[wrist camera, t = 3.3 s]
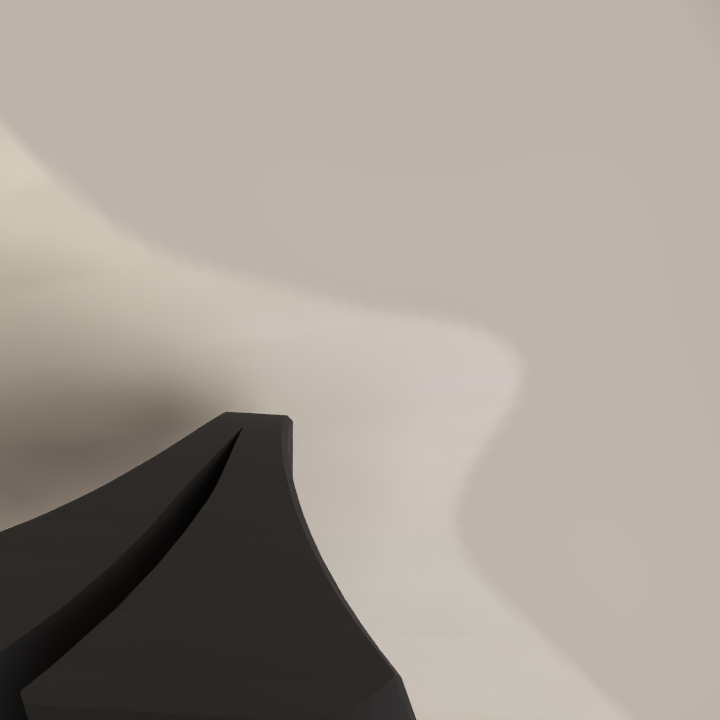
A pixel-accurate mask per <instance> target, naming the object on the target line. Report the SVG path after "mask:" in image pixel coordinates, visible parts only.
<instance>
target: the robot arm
mask: <svg viewBox="0 0 720 720" xmlns="http://www.w3.org/2000/svg"><path fill="white" fill-rule="evenodd" d="M0 720H416V718H415V715H414V712H413V709H412V706H411V704H410V701H409V698H408V695H407V692H406V689H405V687H404V684H403V681H402V678H401V676H400V675H399V674H398V672H397V671H396V670H395V668H394V667H393V666H392V665H391V663H390V662H389V661H388V660H387V658H386V657H385V656H384V654H383V653H382V652H381V651H380V649H379V648H378V646H377V645H376V644H375V642H374V641H373V640H372V638H371V637H370V635H369V634H368V633H367V631H366V630H365V629H364V627H363V626H362V624H361V623H360V621H359V620H358V618H357V617H356V615H355V614H354V612H353V611H352V609H351V607H350V606H349V604H348V603H347V601H346V600H345V598H344V597H343V595H342V593H341V591H340V589H339V588H338V586H337V584H336V582H335V581H334V579H333V577H332V575H331V573H330V572H329V570H328V568H327V566H326V564H325V563H324V561H323V559H322V557H321V555H320V553H319V551H318V549H317V546H316V544H315V542H314V540H313V538H312V535H311V533H310V530H309V528H308V525H307V523H306V520H305V518H304V515H303V512H302V509H301V506H300V503H299V500H298V496H297V493H296V489H295V486H294V482H293V421H292V420H291V419H290V418H289V417H288V416H287V415H271V414H254V413H237V412H225V413H223V414H221V415H219V416H218V417H216V418H214V419H213V420H211V421H210V422H208V423H206V424H205V425H203V426H202V427H200V428H199V429H197V430H196V431H194V432H193V433H191V434H190V435H188V436H186V437H185V438H183V439H182V440H180V441H179V442H177V443H175V444H174V445H172V446H171V447H169V448H168V449H166V450H164V451H163V452H161V453H160V454H158V455H157V456H155V457H153V458H151V459H150V460H148V461H146V462H144V463H143V464H141V465H139V466H137V467H136V468H134V469H132V470H131V471H129V472H127V473H125V474H124V475H122V476H120V477H118V478H117V479H115V480H113V481H111V482H110V483H108V484H106V485H104V486H102V487H100V488H98V489H96V490H94V491H92V492H90V493H88V494H86V495H84V496H82V497H80V498H78V499H76V500H74V501H72V502H70V503H68V504H65V505H63V506H61V507H59V508H57V509H55V510H53V511H50V512H48V513H46V514H44V515H41V516H39V517H37V518H35V519H32V520H30V521H27V522H25V523H22V524H19V525H17V526H14V527H12V528H9V529H7V530H4V531H2V532H0Z"/></svg>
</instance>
